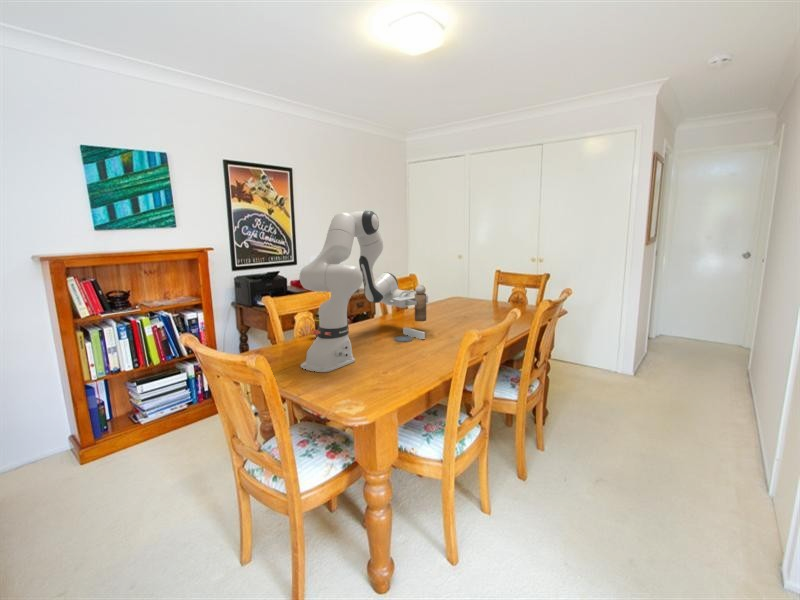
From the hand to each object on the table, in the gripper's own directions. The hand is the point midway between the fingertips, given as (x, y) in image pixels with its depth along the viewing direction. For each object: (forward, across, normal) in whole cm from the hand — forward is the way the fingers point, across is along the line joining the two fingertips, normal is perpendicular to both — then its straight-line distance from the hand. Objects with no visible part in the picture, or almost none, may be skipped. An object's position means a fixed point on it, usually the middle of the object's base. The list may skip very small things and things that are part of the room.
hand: (421, 302), depth 192 cm
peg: (-1, 0, +9) cm, 9 cm away
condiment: (-33, -36, +17) cm, 52 cm away
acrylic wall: (-1, -4, +17) cm, 17 cm away
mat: (-1, -11, +17) cm, 20 cm away
